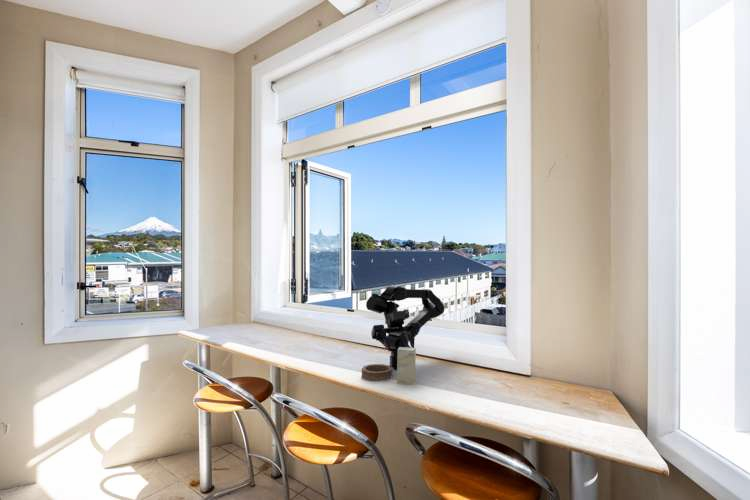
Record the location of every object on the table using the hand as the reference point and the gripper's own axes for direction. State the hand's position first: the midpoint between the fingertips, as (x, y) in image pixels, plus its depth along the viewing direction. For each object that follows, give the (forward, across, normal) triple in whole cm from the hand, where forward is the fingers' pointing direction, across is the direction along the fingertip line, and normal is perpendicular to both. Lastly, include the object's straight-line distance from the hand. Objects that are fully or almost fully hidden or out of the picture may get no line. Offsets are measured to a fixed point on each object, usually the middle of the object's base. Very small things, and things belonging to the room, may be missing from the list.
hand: (401, 349), depth 135 cm
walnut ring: (+3, -8, +12) cm, 15 cm away
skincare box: (+10, 0, +5) cm, 12 cm away
